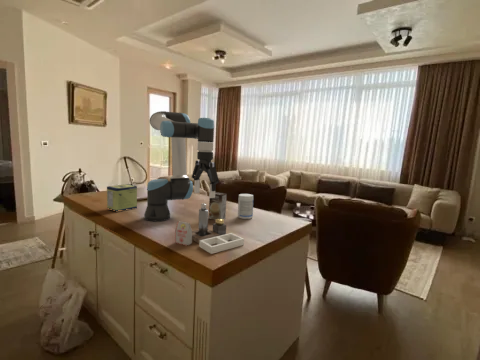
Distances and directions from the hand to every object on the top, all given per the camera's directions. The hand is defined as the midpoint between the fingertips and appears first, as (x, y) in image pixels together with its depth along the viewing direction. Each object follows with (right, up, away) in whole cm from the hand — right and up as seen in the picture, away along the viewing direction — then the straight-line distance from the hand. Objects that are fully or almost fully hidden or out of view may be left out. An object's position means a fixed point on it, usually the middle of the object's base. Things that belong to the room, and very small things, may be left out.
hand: (204, 195), depth 130 cm
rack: (+9, -23, -6) cm, 25 cm away
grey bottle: (-1, -21, +3) cm, 21 cm away
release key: (+7, -19, +9) cm, 23 cm away
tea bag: (-9, -22, -5) cm, 24 cm away
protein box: (-61, -12, +49) cm, 79 cm away
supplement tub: (+21, -17, +42) cm, 50 cm away
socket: (+1, -21, +5) cm, 22 cm away
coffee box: (+3, -17, +37) cm, 40 cm away
